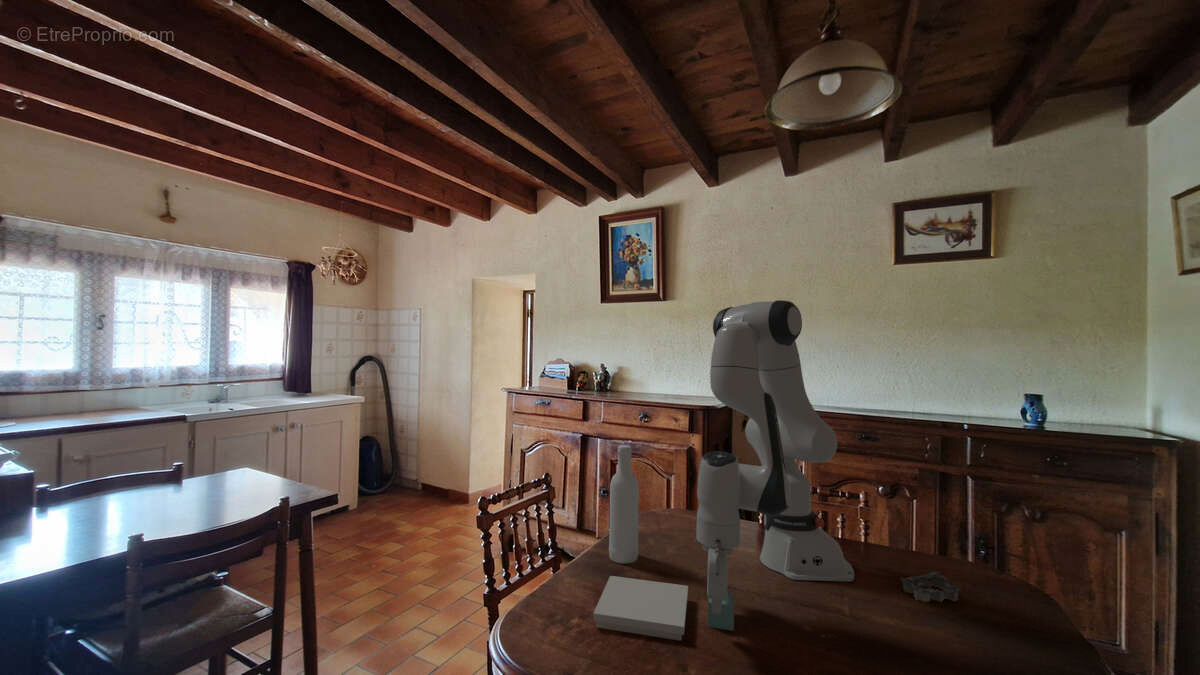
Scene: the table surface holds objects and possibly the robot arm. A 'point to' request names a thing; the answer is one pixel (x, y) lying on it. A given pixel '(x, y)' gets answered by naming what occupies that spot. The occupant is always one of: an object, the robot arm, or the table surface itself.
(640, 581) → the cream wooden base
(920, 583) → the grey jagged ring
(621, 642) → the table surface
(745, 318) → the robot arm
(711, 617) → the teal block
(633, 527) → the bottle
